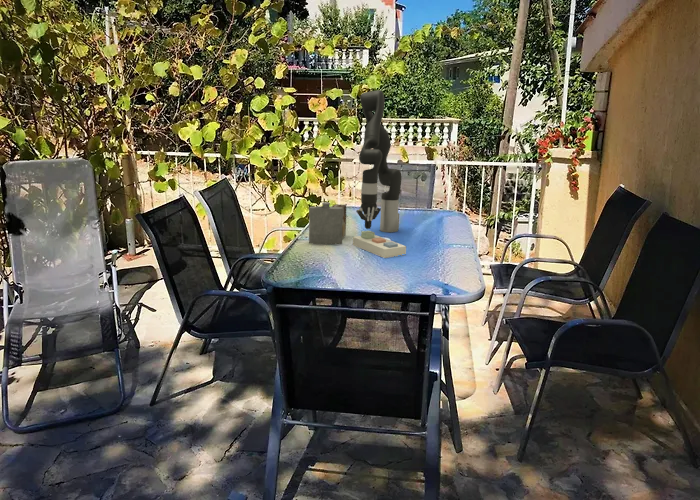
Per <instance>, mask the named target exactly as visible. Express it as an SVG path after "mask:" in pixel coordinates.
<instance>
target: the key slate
mask: <svg viewBox="0 0 700 500" xmlns="http://www.w3.org/2000/svg"><path fill="white" fill-rule="evenodd" d="M393 242H394V241H393ZM393 242H387V243H383V246H386V247H388V248H392V247H398V244H396V243H397V242H396V243H393Z"/></svg>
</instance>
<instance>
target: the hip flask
mask: <svg viewBox="0 0 700 500" xmlns="http://www.w3.org/2000/svg"><path fill="white" fill-rule="evenodd" d="M321 205H322V206H320V205H319V206H318V205H317V206H310V207H309V209H308V210H309V211H308V212H309V214H308V219H309V220H308V221H309V222H308V224H309V225H308V230H309V231H308V243H309V244H310V243H313V244H314V245H342V244H343V239H342V223H343V208H342V207H332V206H331V207H330V205H331V203H330V201H329V202H327V201H326V202H322V204H321ZM313 244H312V245H313Z"/></svg>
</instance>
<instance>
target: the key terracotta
mask: <svg viewBox="0 0 700 500" xmlns="http://www.w3.org/2000/svg"><path fill="white" fill-rule="evenodd" d="M383 238H384V237H382V238H373V239H372V241H373V242H375V243H384V242H386V240H385V239H386V238H385V239H383Z"/></svg>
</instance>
